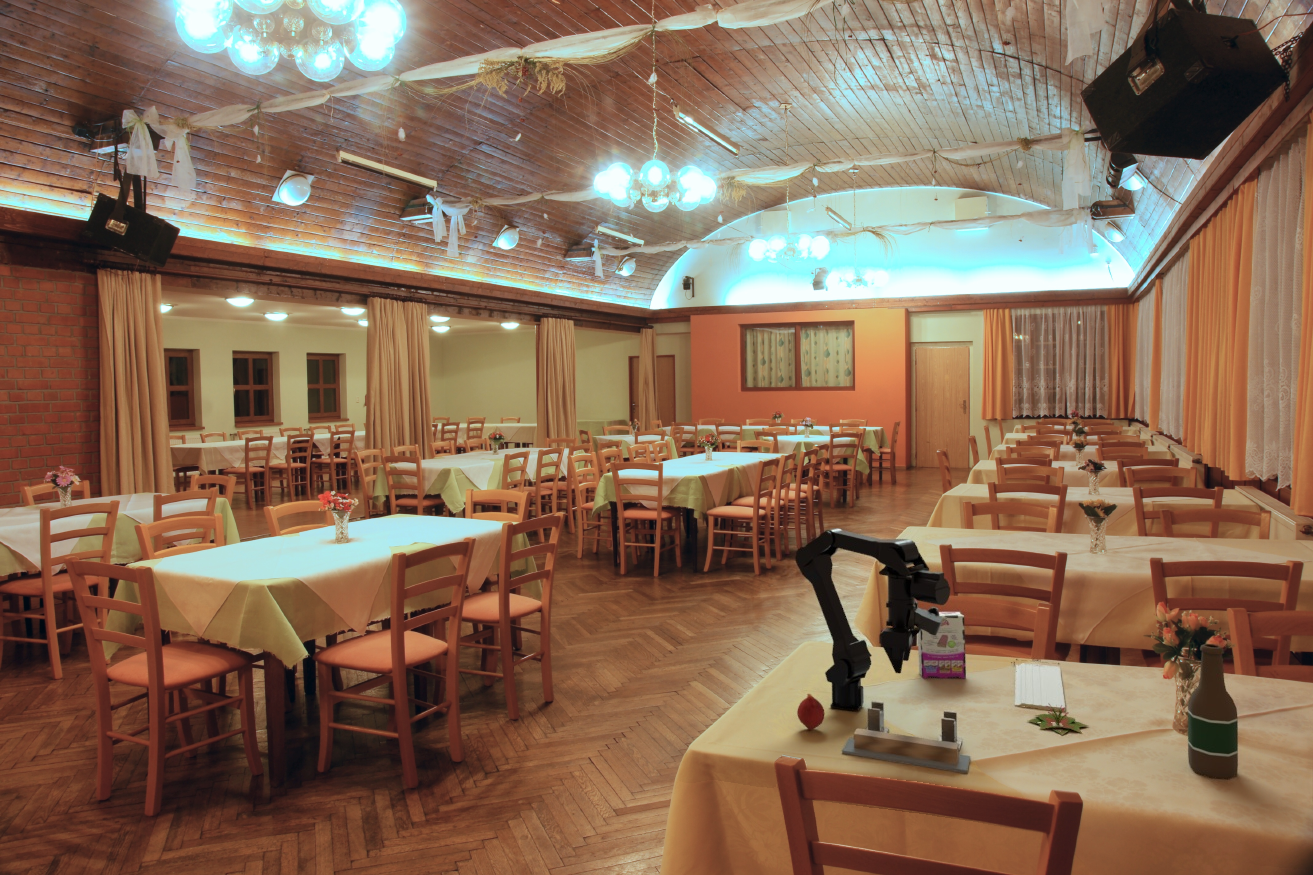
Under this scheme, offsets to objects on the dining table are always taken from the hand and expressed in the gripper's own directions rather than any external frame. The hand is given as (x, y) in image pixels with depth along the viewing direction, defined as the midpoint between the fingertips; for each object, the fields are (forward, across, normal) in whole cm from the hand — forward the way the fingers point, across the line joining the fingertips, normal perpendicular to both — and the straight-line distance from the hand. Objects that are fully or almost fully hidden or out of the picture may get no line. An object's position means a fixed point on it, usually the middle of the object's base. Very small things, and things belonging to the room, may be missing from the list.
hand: (902, 666), depth 178 cm
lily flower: (+13, +13, -31) cm, 36 cm away
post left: (+13, -8, +4) cm, 16 cm away
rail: (+12, -16, -4) cm, 21 cm away
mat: (+13, -17, -3) cm, 21 cm away
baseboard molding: (+14, +36, -26) cm, 47 cm away
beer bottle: (+13, -1, -57) cm, 59 cm away
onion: (+13, -11, +18) cm, 25 cm away
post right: (+13, -7, -11) cm, 18 cm away
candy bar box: (+13, +36, -4) cm, 39 cm away
